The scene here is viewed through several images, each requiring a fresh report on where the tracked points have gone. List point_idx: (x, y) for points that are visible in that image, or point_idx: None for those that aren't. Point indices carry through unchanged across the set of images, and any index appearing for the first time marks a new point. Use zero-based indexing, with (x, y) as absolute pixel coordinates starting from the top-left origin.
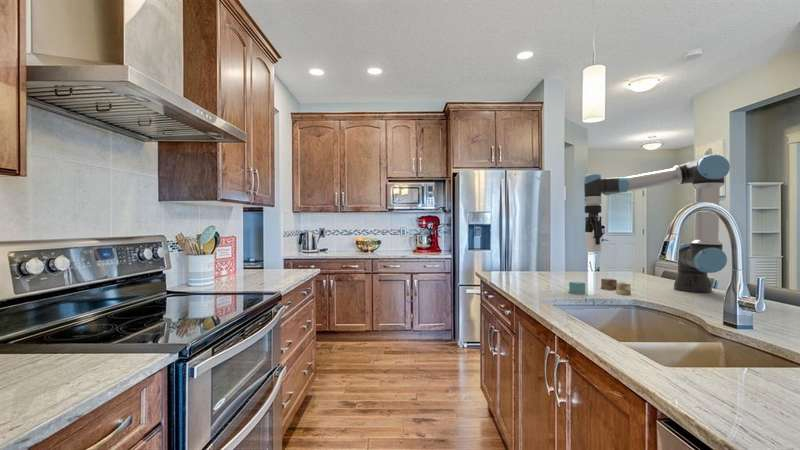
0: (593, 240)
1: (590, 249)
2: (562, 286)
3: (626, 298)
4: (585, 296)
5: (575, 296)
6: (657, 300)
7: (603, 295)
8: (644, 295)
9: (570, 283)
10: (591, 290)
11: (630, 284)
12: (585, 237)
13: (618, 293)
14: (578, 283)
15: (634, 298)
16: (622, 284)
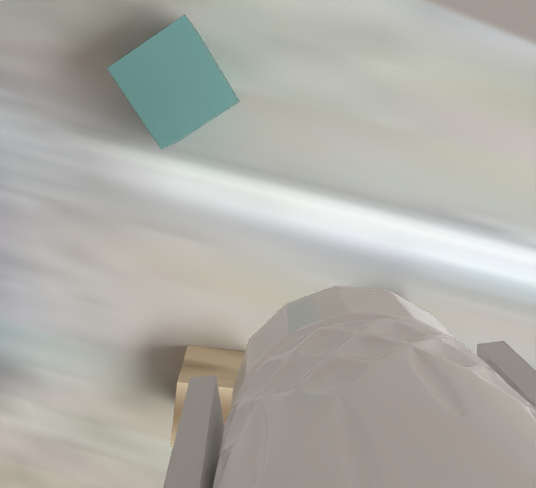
0: None
1: (257, 350)
2: (476, 36)
3: (31, 340)
4: (28, 107)
5: (6, 31)
6: (16, 469)
7: (105, 239)
8: (165, 460)
9: (174, 25)
10: (301, 216)
11: (171, 445)
12: (414, 448)
13: (189, 346)
14: (116, 82)
15: (45, 382)
16: (175, 401)
